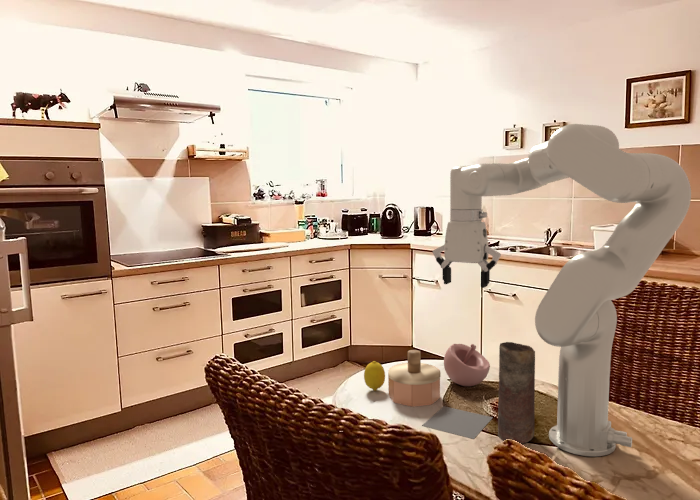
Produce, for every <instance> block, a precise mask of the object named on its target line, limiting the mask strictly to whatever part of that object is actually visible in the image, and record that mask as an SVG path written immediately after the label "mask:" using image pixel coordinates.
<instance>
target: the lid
mask: <svg viewBox="0 0 700 500" xmlns="http://www.w3.org/2000/svg"><path fill="white" fill-rule="evenodd" d="M421 357H422V356H421V350H417V349H410V350H408V351H407V362H402V363H397V364H394V365H392V366H390V367H389V368H388V370H387V372H388V376H389V378H390V379H392V380H393V381H396V382H399V383H403V384H410V385H422V384H429V383H433V382H435V381H437V380H439V379H440V380H441V377H442V376H441V373H442V372H441V370H440V368H438V367H437V366H436V365H435V366H434V365H432V364H429V363H424V362H422V361H421V360H422V359H421Z"/></svg>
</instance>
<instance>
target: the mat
mask: <svg viewBox="0 0 700 500" xmlns="http://www.w3.org/2000/svg"><path fill="white" fill-rule="evenodd" d="M492 419H494V418H493V416H489V415H486V414H485V415H484V414H480V413H476V412H471V411H466V410H462V409H458V408H454V407H448V406H445V405H444V406H442V407H441V408H440V409H439V410H438V411H437V412H436V413H434V414H433V415H432V416H431V417H429V419H427V420H426V421H425V422H424V423H423V424H422V425H421V427H425V428H428V429H433V430H437V431H440V432H444V433H448V434H453V435H456V436H460V437H464V438H467V439H472V440H475V438H476V437H477V436H478V435H479V434H480V433H481V432H482V431H483V430H484V428H486V426H487V425H488V423H490V422H491V421H492Z"/></svg>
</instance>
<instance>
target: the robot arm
mask: <svg viewBox="0 0 700 500" xmlns="http://www.w3.org/2000/svg"><path fill="white" fill-rule="evenodd" d="M619 143H620V142H619V139H618V137H617V135H616V134H615V133H614V131H612V130H611V129H609V128H608V127H605V126H602V125H599V124H598V125H596V124H584V123H583V124H581V123H572V124H566V125H564V126H561V127H560V128H558V129H556V131H554V132H553V133H552V134H551V136H550V137H549V139H548V140H547V141H544V142H543V141H542V142H539V143H537V144H535V145H534V146H533V147H531V149H530V150H529V152H528V156H527V157H526V158H523V159H521V160H517V161H515V162H509V163H501V162H500V163H495V162H494V163H479V164H478V163H477V164H473V165H457V166H454V167H452V168H451V169H450V177H449V178H450V181H449V182H450V183H449V185H450V186H449V187H450V190H449V191H450V196H449V197H450V199H449V201H450V202H449V203H450V204H449V206H450V211H449V212H450V213H449V215H450V216H449V219H450V221H448V222H447V226H446V230H445V237H444V244H443V245H441V246H439V247H437V248H436V249H435V248H434V249H433V250H432V254H433V256H434V258H435V261H436V263H438V265H439V266H440V268H441V270H442V281H443V284H444V285H448V284H450V283H452V267H450V265H452V263H464V264H465V263H466V264H468V263H469V264H478V266H479V267H480V269H482V270H481V271H480V287H481V289H482V288H486V287H488V285H489V284H490V282H491V281H490V277H491V276H490V275H491V272H490V271H491V270H492V269H493V268H494V267H495V266H497V263H498V261H499V260H500V258H501V255H502V253H500V252H499V251H497V250H495V249H493V248H491V246H489V239H488V232H487V226H486V222H485V221H482V220H483V219H484V218H487V217H488V212H487V211H483V209H482V205H483V203H482V202H483V201H482V200H483V197H496V196H499V197H501V196H512V195H517V194H518V195H519V194H522V193H524V192H529V191H532V190H535V189H538V188H542V187H543V186H547V184H551V183H555V182H558V181H561V180H565V179H569V178H570V179H571V180H573V181H574V182H576V183H578V184H579V185H581V186H582V187H584V188H585V189H587V190H589V191H590V192H591V193H594V194H595V195H597V196H598V197H600V198H601V199H604V200H607V201H608V202H612V203H619V204H628V203H635V204H634V206H633V208H632V209H631V210H630V211H629V212H628V213H627V214H626V215H625V216H624V217H623V218H622V219H621V220H620V221H619V222H618V224H617V226H616V227H615V229H614V230H613V232H612V233H611V235H610V237H609V238H608V239H607V240H606V242H605V243H604V244H603V245H602V246H601V247H600V248H598V249H596V250H590V251H584V252H581V253H579V254H576V255H575V256H573V257H572V258H571V259H569V260H568V261H566V263H565V264H564V265H562V267H561V269H560V271H559V272H558V273H557V275H556V277H555V279H554V280H553V282H552V284H550V287H549V288H548V290H547V291H546V293H544V294H545V295H544V296H543V298H542V300H541V301H540V302H539V304H538V306H537V309H536V312H535V317H534V325H535V329H536V332H537V335H539V337H540V339H541V340H543V342H545V343H546V344H548V345H551V346H552V347H553V346H554V347H559V348H560V351H559V355H558V356H559V357H558V377H557V380H558V381H557V383H558V384H557V414H556V416H557V418H556V425H554V426H552V427H551V428H550V429H549V431H548V438H549V440H550V441H551V442H552V443H553V445H555V446H556V447H557V448H558V449H560V450H561V451H565V452H567V453H570V454H573V455H578V456H582V457H583V456H584V457H601V456H602V457H603V456H608V455H610V454H612V453H613V452H614V451H615V450H616V445H619V446H622V447H623V446H624V447H627V448H632V446H633V437H632V436H628V434H627V433H628V432H626V431H622V430H617V429H615V428H614V427H612V421H611V420H609V399H610V398H609V397H610V394H609V393H610V376H611V361H612V349H613V348H612V347H613V342H614V337H615V334H616V329H617V322H618V317H617V310H616V307H615V304H614V303H613V300H617V299H619V298H620V299H621V298H624V297H626V296H628V295H630V294H631V293H632V292H633V291H634V290H635V289H636V288H637V287H638V285H639V283H640V282H641V281H642V279H643V278H644V276H645V275H646V274H647V272H648V271H649V270H650V269H651V267H652V265H653V264H654V263H655V261H656V260H657V259H658V257H659V256H660V254H661V253H662V251H663V250H664V249H665V247H666V246H667V244H668V243H669V242H670V240H671V239H672V237H673V236H674V234H676V232H677V230H678V229H679V227H680V226H681V225H682V223H683V221H684V220H685V218H686V216H687V214H688V211H689V209H690V205H691V199H692V189H691V183H690V180H689V178H688V175H687V173H686V172H685V169H684V168H683V167H682V166H681V165H680V163H678V162H677V161H676V160H674V159H673V158H671V157H669V156H667V155H663V154H659V153H647V152H643V153H642V152H638V153H637V152H632V153H631V152H627V151H623V150H622V149H621V148H620V144H619ZM442 252H444V253H443V255H444V257H442V255H441V253H442ZM489 255H490V256H492V257H491V258H492V259H491V260H490V261H488V260H489Z"/></svg>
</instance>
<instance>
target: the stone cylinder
mask: <svg viewBox="0 0 700 500" xmlns="http://www.w3.org/2000/svg"><path fill="white" fill-rule="evenodd" d="M498 354H499V355H498V357H499V359H498V363H499V364H498V365H499V367H498V369H499V370H498V400H497V401H498V402H497V404H498V408H497V409H498V411H497V437H498V438H499V439H500V440H502V441H504V440H506V439H512V440H515V441H517V442H520V443H519V444H525V443H528V442H529V441H532V440H533V438H534V436H535V411H536V409H535V405H536V404H535V402H536V401H535V398H536V397H535V394H536V392H535V387H536V386H535V385H536V381H535V380H536V379H535V378H536V351H535V350H534V348H533V347H532V346H531V345H527V344H522V343H516V342H513V341H512V342H511V341H506V342H501V343H500V344H499V353H498ZM504 442H505V441H504Z"/></svg>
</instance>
